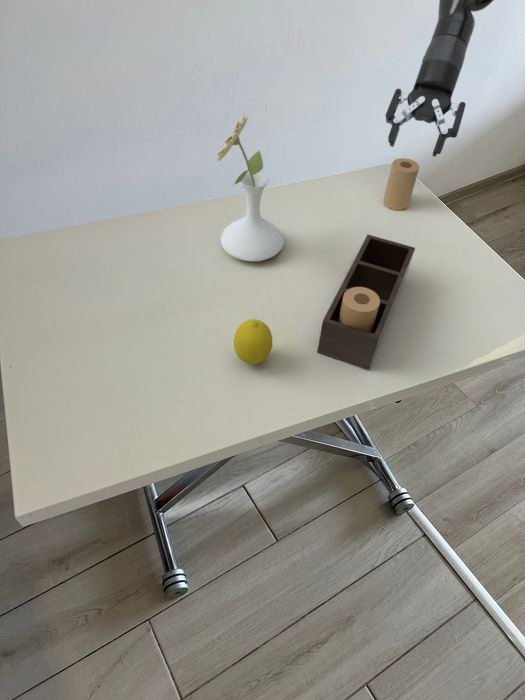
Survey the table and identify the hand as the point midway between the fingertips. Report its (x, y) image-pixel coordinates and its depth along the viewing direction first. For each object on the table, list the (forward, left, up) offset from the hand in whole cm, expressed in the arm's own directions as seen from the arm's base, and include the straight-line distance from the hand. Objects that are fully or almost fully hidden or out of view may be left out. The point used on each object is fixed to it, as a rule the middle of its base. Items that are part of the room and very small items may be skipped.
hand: (412, 150), depth 104 cm
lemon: (+53, +20, -10) cm, 57 cm away
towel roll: (+4, +2, -10) cm, 10 cm away
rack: (+32, +22, -10) cm, 40 cm away
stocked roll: (+38, +26, -10) cm, 47 cm away
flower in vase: (+38, -2, -10) cm, 39 cm away
